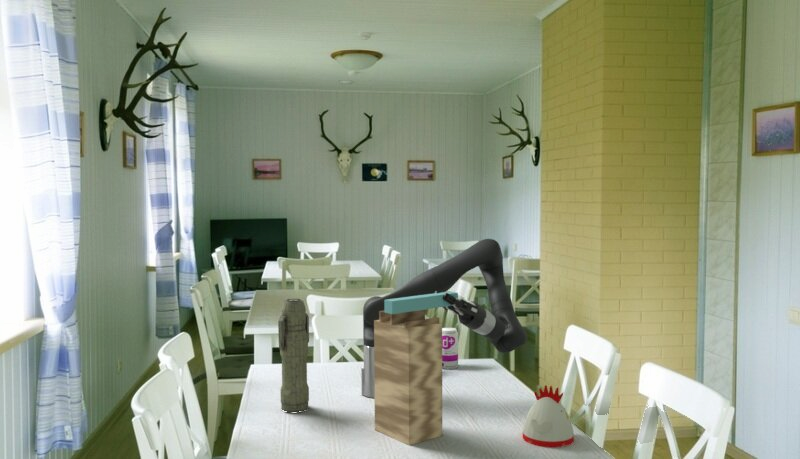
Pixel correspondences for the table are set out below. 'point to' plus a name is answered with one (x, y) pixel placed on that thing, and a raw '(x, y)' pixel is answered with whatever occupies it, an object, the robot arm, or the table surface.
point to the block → (416, 303)
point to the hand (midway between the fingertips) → (439, 295)
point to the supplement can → (449, 348)
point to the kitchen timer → (548, 421)
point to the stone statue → (294, 355)
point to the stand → (408, 376)
